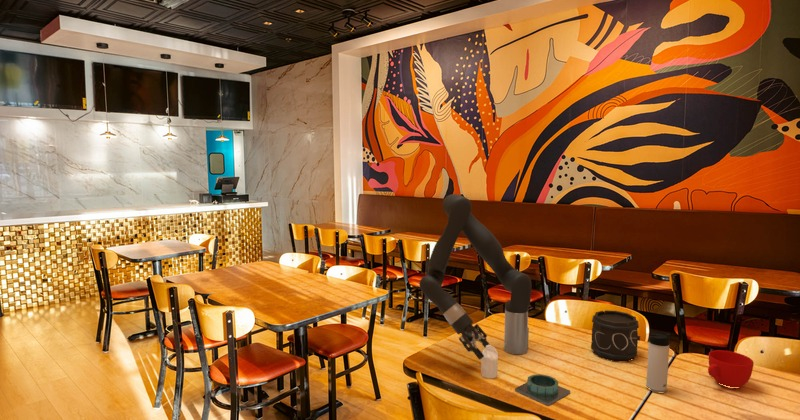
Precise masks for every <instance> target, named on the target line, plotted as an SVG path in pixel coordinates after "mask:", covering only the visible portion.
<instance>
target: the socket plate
mask: <svg viewBox="0 0 800 420" xmlns="http://www.w3.org/2000/svg"><path fill="white" fill-rule="evenodd" d="M526 381H527V382H525V383H523V384H521V385H519V386H517V387H515V388H514V392H516V393H519V394H521V395H523V396H525V397H527V398H529V399H532V400H534V401H535V402H539V403H541V404H542V405H545V406H547V407H549V406H551V405H553V404H554V403H556V402H557V401H559V400H561V399H563V398H564V397H567V396H568V395H570V394H571V390H570V389H567V388H566V387H562V386H561V385H559V380H557V379H556V378H555V377H553V376H550V375H547V374H531V375H530V376H528V377H527V380H526ZM566 395H567V396H566Z"/></svg>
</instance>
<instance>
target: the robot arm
mask: <svg viewBox="0 0 800 420" xmlns="http://www.w3.org/2000/svg"><path fill="white" fill-rule="evenodd" d="M472 206H473V205H472V202H471V200H470V199H469V198H467V197H465V196H463V195H459V194H456V193H455V194H454V193H453V194H448V195H446V196H445V198H444V199H443V201H442V209H443V211H444V213H445V215H446V216H447V217H448V219H447V222H446V223H447V224H446V226H445V228H444V230H443V232H442V234H441V236H440V237H439V238H438V240H437V241H436V243H435V244H434V247H433V249H432V252H431V254H430V258H429V261H428V267H429V268H428V271H427V275H424V276H422V277H421V278H420V279H419V280H420V281H419V288H420V290H421V292H422V294H423V295H425V297H426V298H427V299H429V300H430V302H432V303H433V304H434V306H436V307H437V309H438V310H439V311H440V313H442V315H443V316H444V319H445V320H446V321H447V323H448V324H449V325H450V326H451V328H452V329H453V331H454V332H456V334H457V335H461V336H459V337H458V339H459V341H460V343H461V345H463V347H464V348H465V350H466V351H467V352H468V353H470V352H473V354H474V355H475V357H477V358H478V360H481V358H483V357H484V355H483V354H482V350H480V349H479V347H478V345H477V342H479V343H481V345H482V346H483V347H484V348H485V347H486V345H491V344H490V343H489V341H488V340H487V337H488V335H487V333H486V332H485V331H484V330H483V329H482V328H481V327H480V325H479V324H478V323H475V325H472V324H473V323H474V320H473V319H472V318H471V317H470V315H469V314H468V313H467V312H466V311H465V309H464V308H463V307H462V305H461V304H459V303H458V302H457V301H456V299H455V298H454V297H453V296H452V295H451V293H449V292H447V291H445V290H444V289H443V287H442V286H443V283H444V279H445V273H446V270H447V269H446V268H447V266H448V263H449V261H450V258H451V255H452V252H453V250H454V247H455V245H456V242H457V240H458V238H459V236H460V235H461V232H462V233H463V235H464V236H465V237H466V240H468V242H469V243H470V244H471V246H472V247H473V249H474V250H475V251H476V252H477V253H478V255H479V256H480V258H482V260H483V261H484V262H485V263H486V265H487V266H488V267H490V269H491V270H492V271H493V273H494V274H495V276H496V277H497V279H498V280H499V282H500V283H501V285H502V286H503V288H504V289H505V290H506V291H507V292H510V300H507V301H506V302H505V304H504V339H503V340H504V341H503V344H504V345H503V346H504V347H503V349H504V352H506V353H509V354H510V355H512V354H513V355H524V354H526V353H527V352H528V350H529V335H530V333H529V332H530V329H529V326H528V324H529V307H530V305H531V299H532V298H531V297H532V280H531V278H530V276H529V275H528V274H526V273H524V272H522V271H519V270H517V269H516V268H515V267H514V266H513V265H512V264H511V263H510V262H509V261H508V259H507V258H506V256H505V252H504V250H503V249H504V248H503V247H502V244H501V243H500V241H499V240H498V239H497V238H496V236H495V235H494V234H493V233H492V232H491V231H490V230H489V229H488V228H487V227H486V226H485V225H484V224H483V223H481V221H479V220H478V219H477V218H476V217H475V216H474V215H473V214H472V209H473V207H472Z"/></svg>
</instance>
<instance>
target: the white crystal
mask: <svg viewBox="0 0 800 420" xmlns="http://www.w3.org/2000/svg"><path fill="white" fill-rule="evenodd" d="M481 352H482V354H483V355H484V357H483V358H481V359H480V360H481V362H480V369H481V370H480V376H482V378H486V379H495V378H497V377H498V364H499V363H498V361H499V353H498V350H497V349H496V347H494V346H493V345H491V344H490V345H486V347H484V349H483V350H481Z"/></svg>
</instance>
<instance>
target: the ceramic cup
mask: <svg viewBox="0 0 800 420" xmlns="http://www.w3.org/2000/svg"><path fill="white" fill-rule="evenodd" d="M753 368H754V360H753V359H752V358H750V357H749V356H747V355H744V354H742V353H739V352H735V351H731V350H720V349H718V350H715V349H714V350H711V351H709V352H708V368H707V371H708V375H709V376H710V377H711V378H713V379H714V380H715V382H718V383H720V384H723V385H726V386H730V387H740V388H742V387H744V386H745V385H746V384H748V383H749V381H750V379H751V377H752V373H753V370H754V369H753ZM718 383H717V384H718Z"/></svg>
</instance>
